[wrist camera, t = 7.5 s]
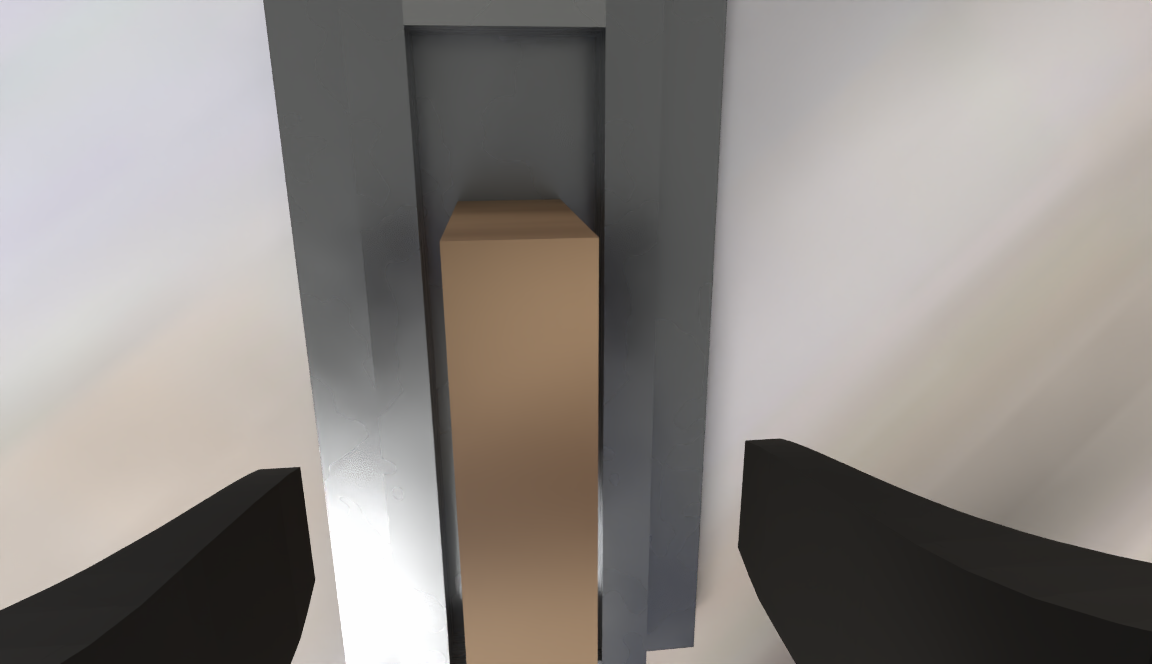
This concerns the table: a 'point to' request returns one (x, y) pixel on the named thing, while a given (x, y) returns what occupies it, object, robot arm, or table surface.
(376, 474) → the floor track
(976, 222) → the table surface
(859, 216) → the table surface
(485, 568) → the door panel
